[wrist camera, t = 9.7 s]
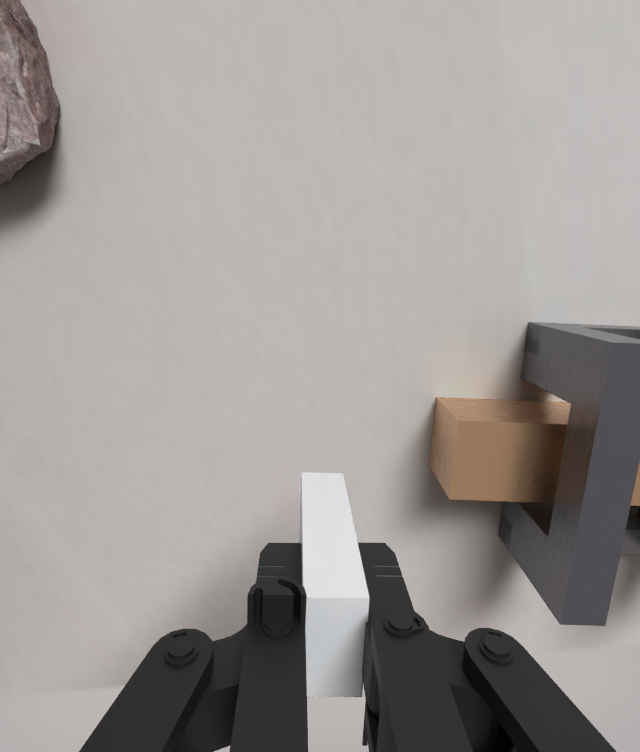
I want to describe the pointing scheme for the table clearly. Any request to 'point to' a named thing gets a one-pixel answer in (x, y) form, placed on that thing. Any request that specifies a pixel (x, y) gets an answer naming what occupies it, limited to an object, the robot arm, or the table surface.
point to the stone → (23, 91)
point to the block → (501, 449)
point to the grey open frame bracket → (582, 469)
